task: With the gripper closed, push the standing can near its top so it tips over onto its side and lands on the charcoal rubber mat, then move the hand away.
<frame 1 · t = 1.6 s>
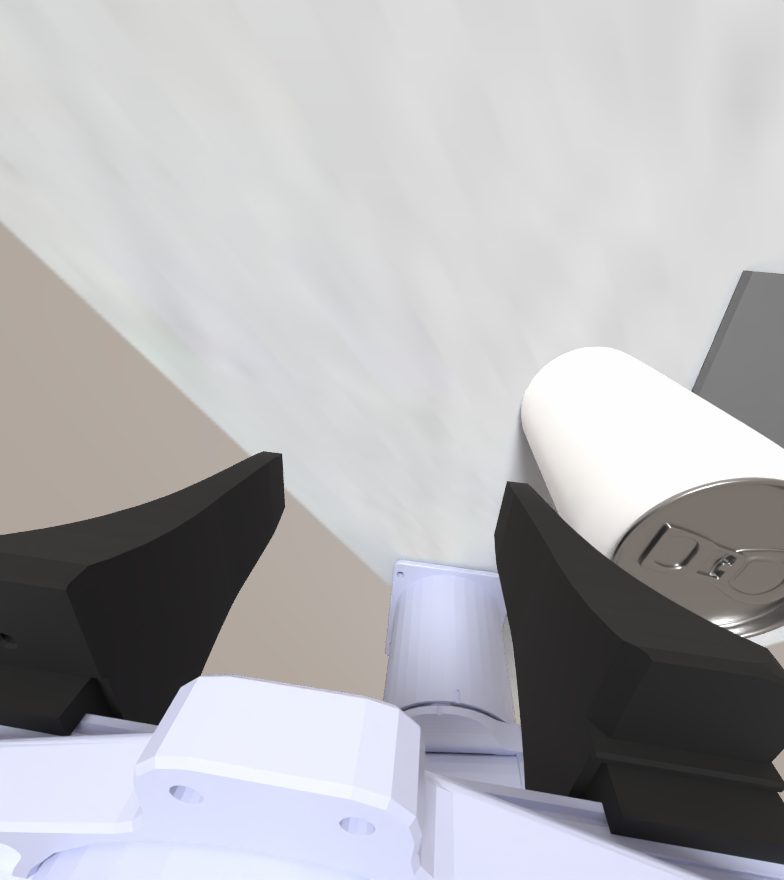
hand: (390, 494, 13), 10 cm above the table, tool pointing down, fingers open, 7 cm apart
can: (581, 404, 21), on the table
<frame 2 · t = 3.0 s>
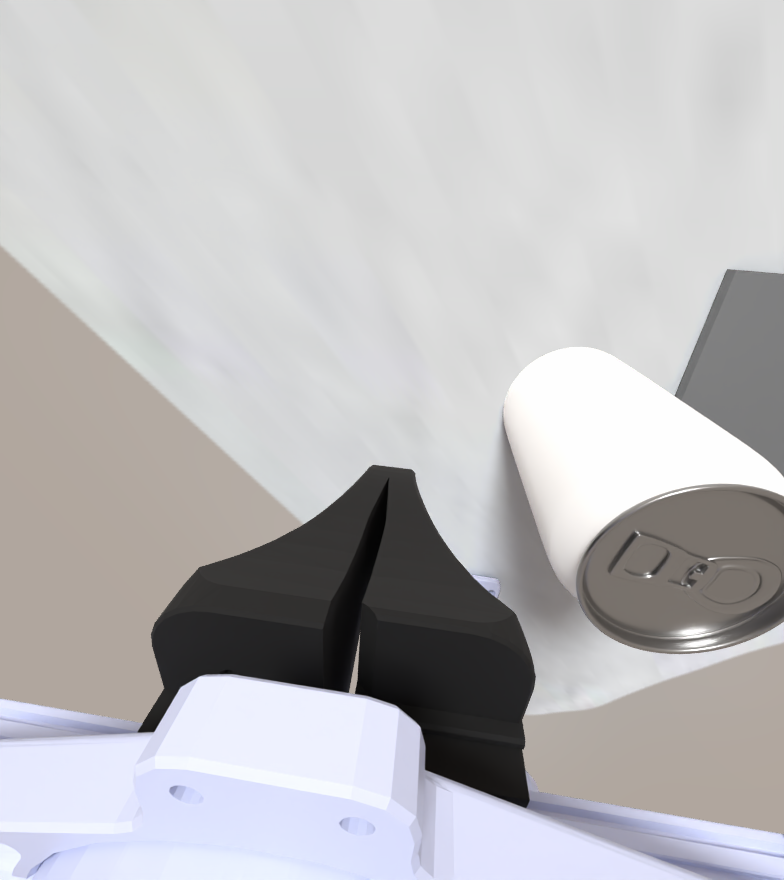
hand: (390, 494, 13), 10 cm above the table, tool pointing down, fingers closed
can: (564, 405, 21), on the table
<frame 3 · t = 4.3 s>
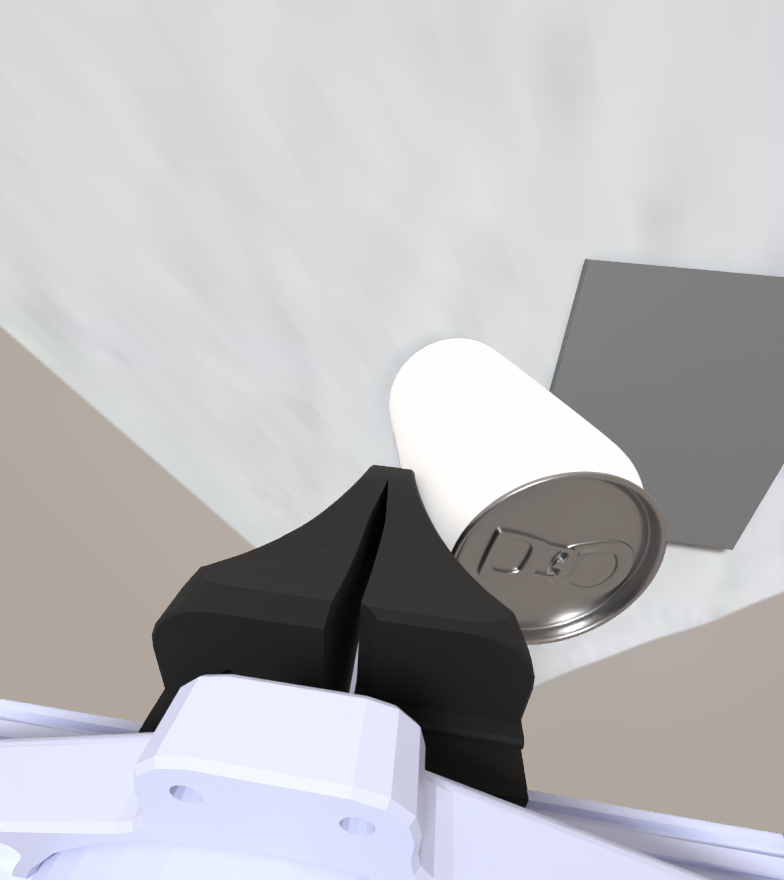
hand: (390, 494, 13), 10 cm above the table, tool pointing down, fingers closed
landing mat: (664, 419, 21), on the table
can: (449, 397, 21), on the table
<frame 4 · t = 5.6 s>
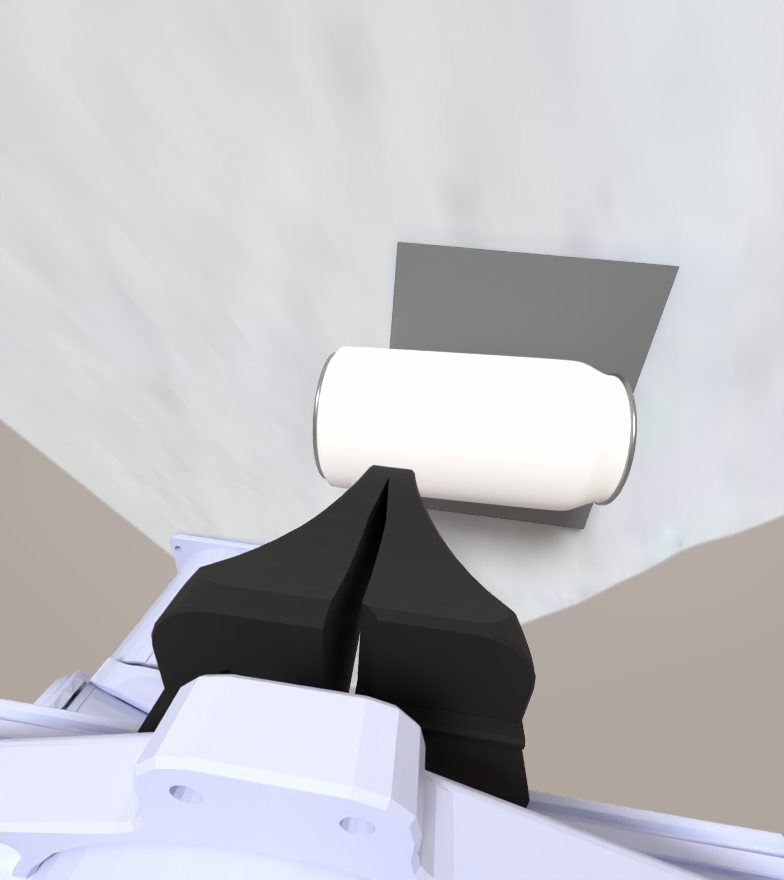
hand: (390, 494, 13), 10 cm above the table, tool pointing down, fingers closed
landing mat: (501, 400, 21), on the table
can: (329, 416, 19), point 3 cm above the table, touching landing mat
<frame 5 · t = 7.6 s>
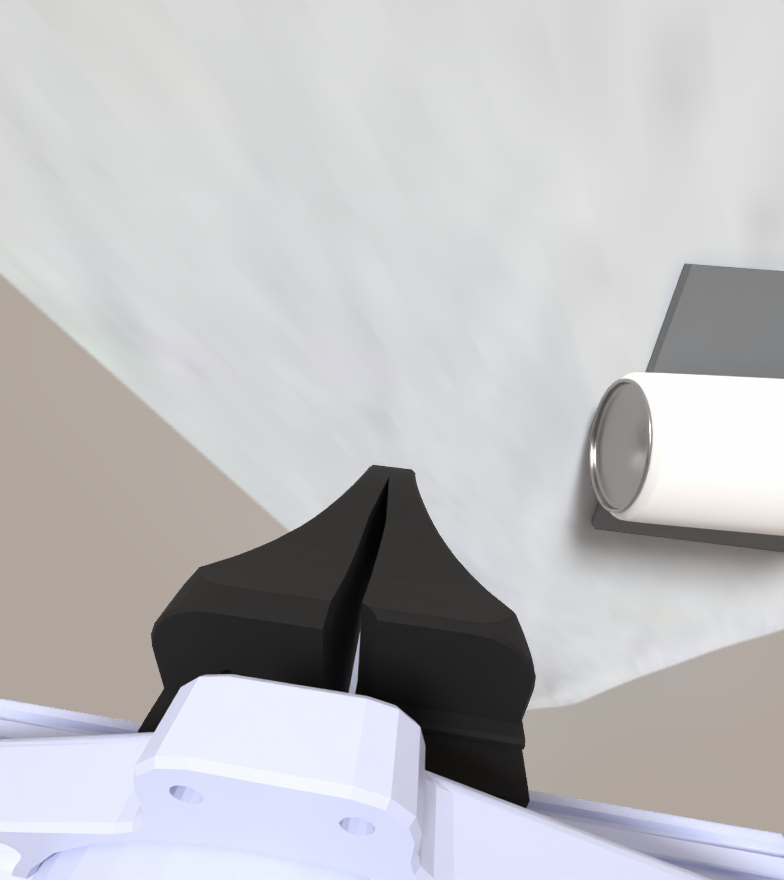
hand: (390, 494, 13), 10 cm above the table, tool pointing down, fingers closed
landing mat: (755, 425, 20), on the table
can: (609, 445, 18), point 4 cm above the table, touching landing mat
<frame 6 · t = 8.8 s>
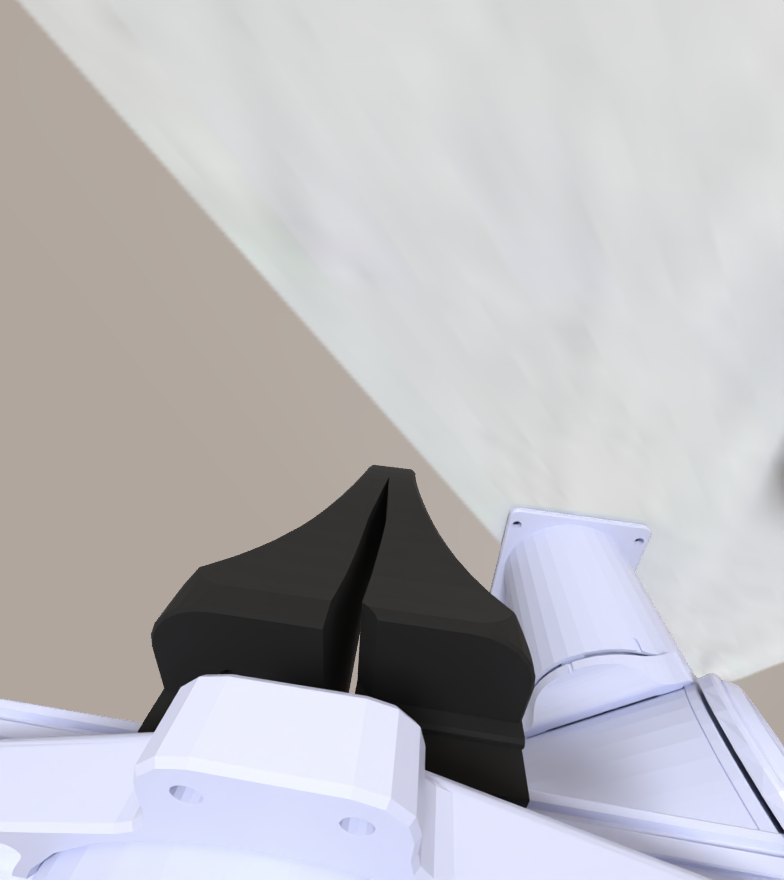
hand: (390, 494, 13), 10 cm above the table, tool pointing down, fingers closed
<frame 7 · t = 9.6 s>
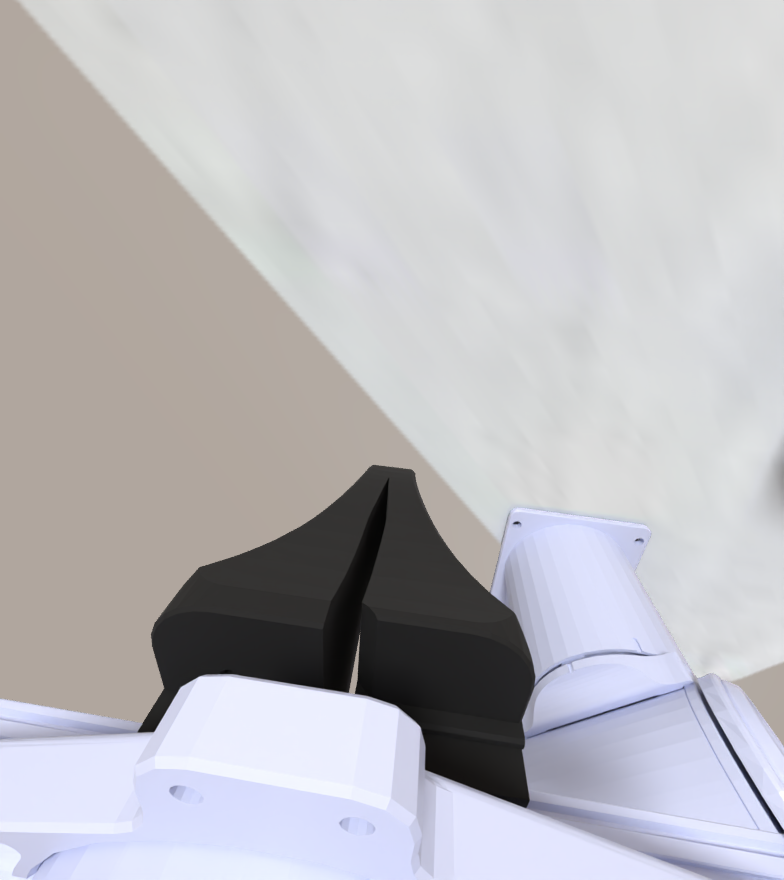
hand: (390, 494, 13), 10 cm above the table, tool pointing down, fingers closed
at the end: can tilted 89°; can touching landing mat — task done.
